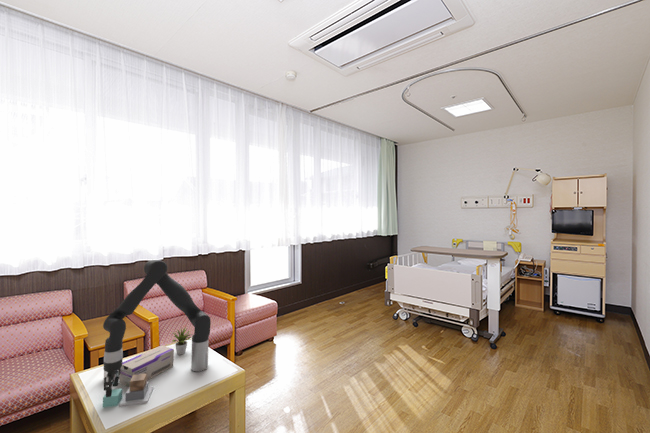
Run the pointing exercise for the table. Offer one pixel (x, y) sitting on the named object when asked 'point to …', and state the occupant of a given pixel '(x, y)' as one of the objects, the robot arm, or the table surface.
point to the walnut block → (138, 382)
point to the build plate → (124, 403)
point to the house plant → (181, 341)
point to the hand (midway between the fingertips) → (112, 391)
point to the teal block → (113, 398)
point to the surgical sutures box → (147, 364)
